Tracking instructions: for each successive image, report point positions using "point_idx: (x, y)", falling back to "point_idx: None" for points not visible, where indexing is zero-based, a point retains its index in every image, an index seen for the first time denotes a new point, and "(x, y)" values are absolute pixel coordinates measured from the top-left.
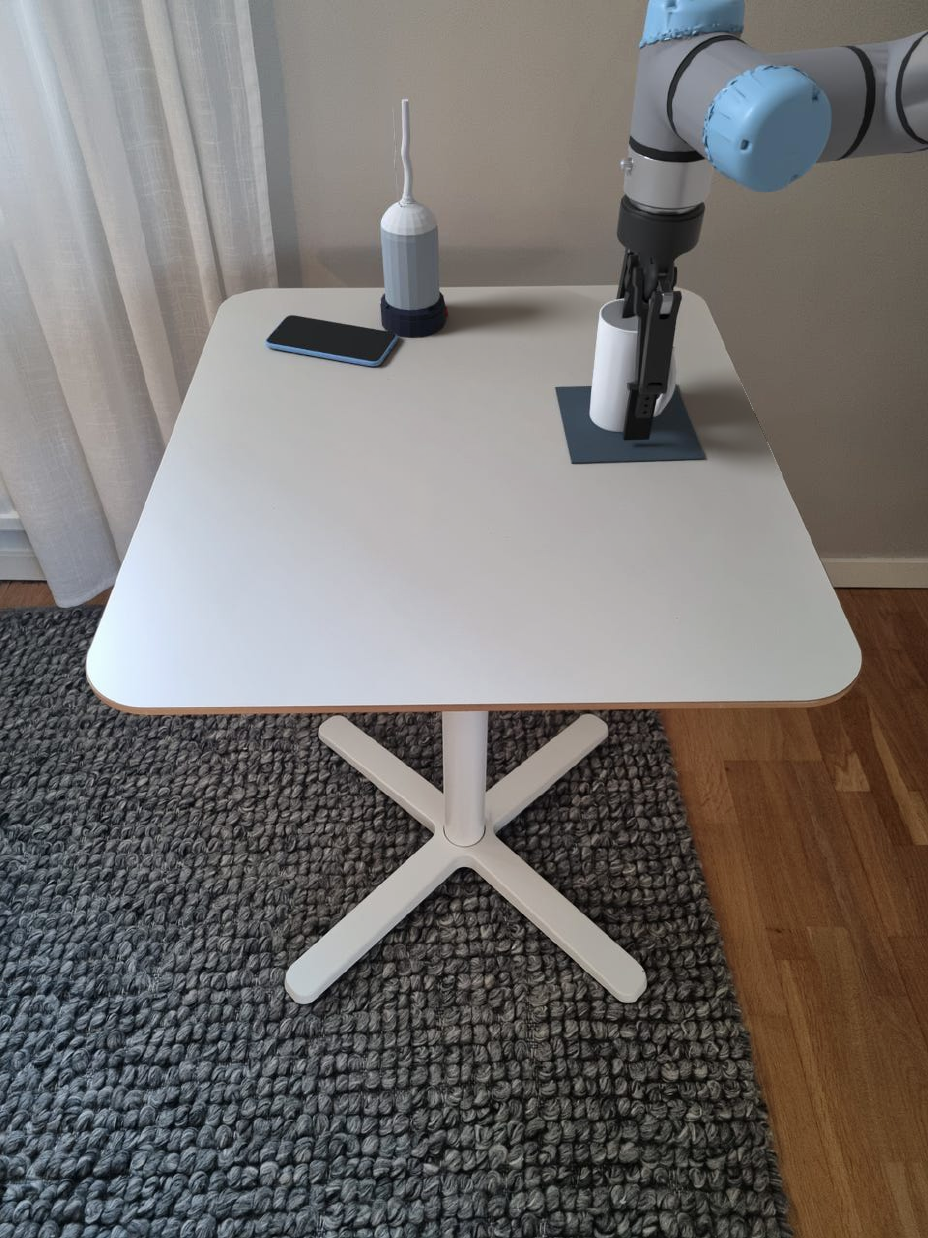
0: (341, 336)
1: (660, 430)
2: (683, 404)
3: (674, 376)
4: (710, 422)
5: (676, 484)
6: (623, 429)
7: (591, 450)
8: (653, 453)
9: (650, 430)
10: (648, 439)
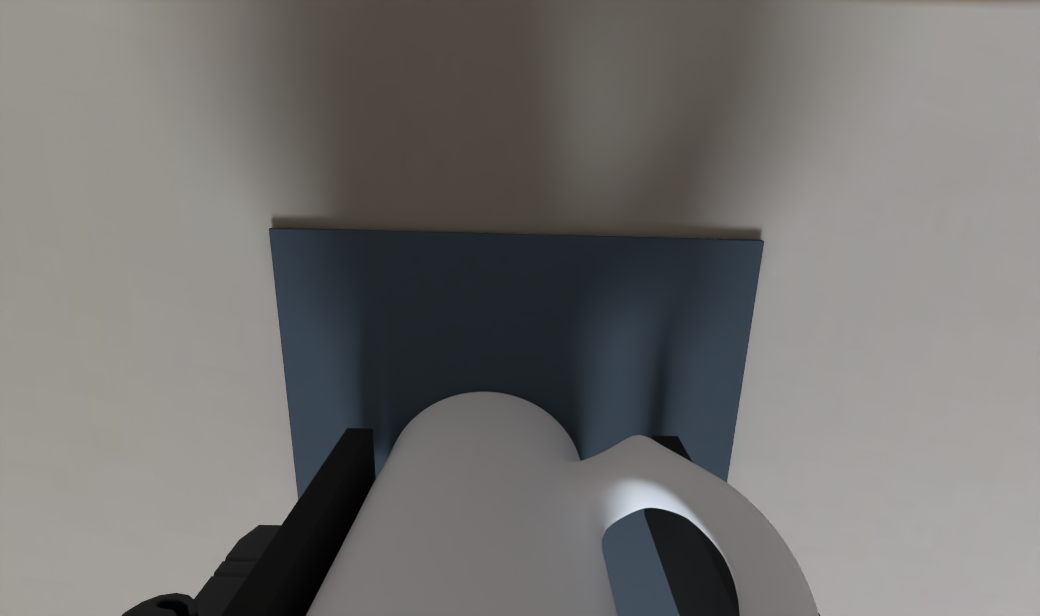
0: None
1: (578, 357)
2: (419, 235)
3: (813, 601)
4: (535, 153)
5: (866, 366)
6: (651, 532)
7: (657, 577)
8: (703, 407)
9: (689, 458)
10: (678, 438)
